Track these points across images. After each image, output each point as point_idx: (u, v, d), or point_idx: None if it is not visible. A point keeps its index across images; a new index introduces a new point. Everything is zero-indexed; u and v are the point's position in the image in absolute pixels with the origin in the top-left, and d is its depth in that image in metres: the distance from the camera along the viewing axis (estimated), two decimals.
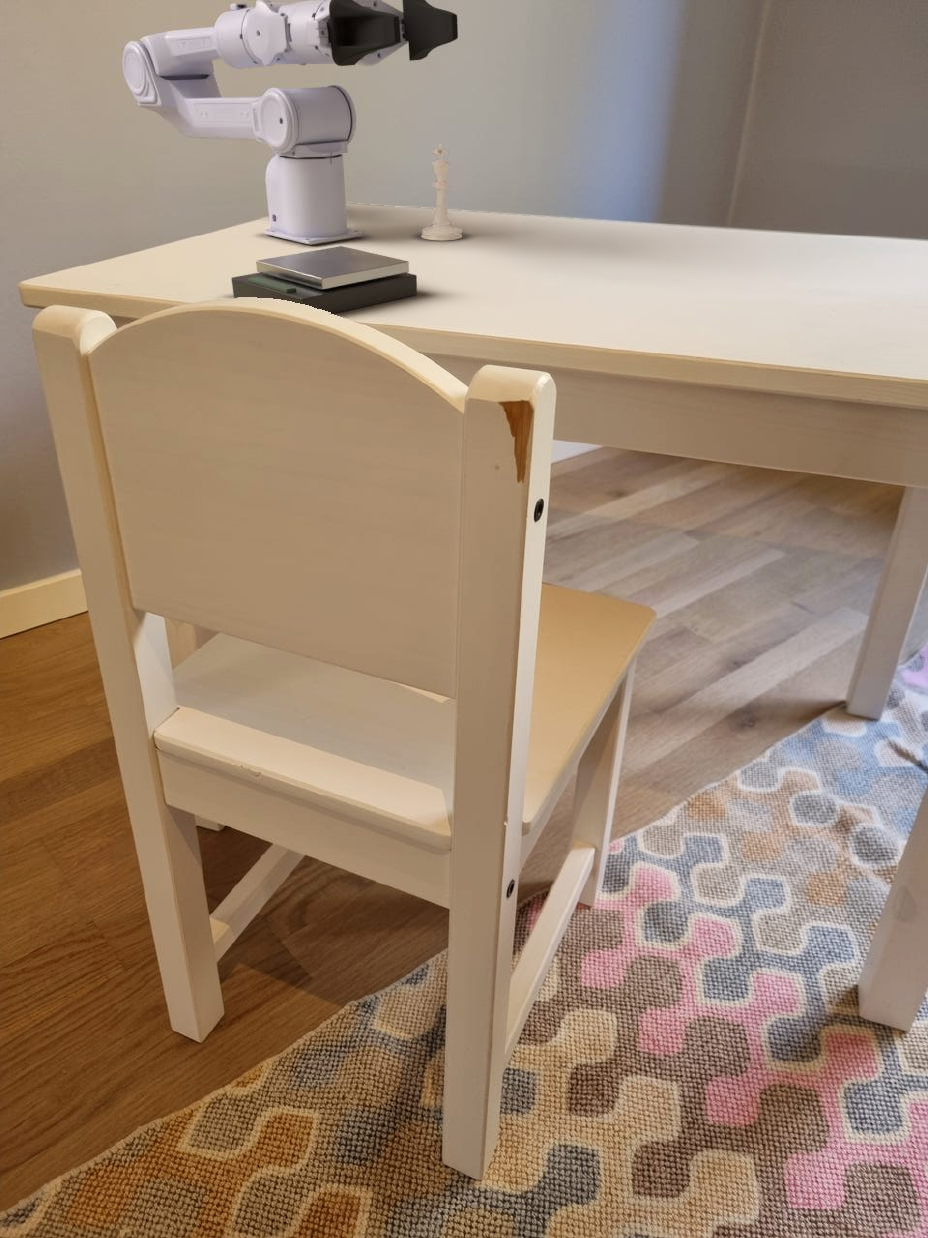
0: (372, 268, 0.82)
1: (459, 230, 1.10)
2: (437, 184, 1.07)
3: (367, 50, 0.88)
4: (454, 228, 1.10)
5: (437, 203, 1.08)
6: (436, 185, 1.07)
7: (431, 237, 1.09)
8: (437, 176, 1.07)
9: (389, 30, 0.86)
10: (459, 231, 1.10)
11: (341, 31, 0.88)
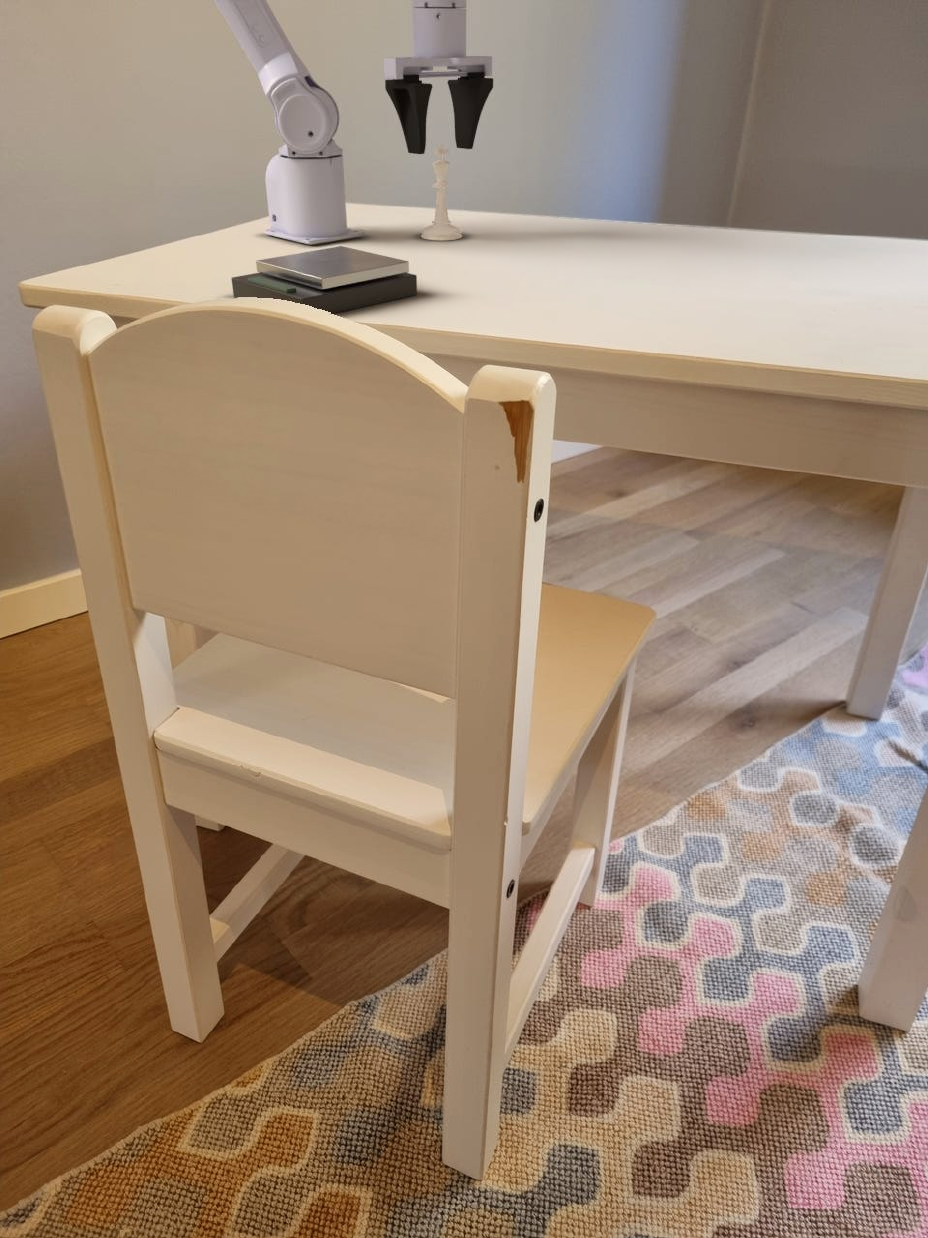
0: (372, 268, 0.82)
1: (459, 230, 1.10)
2: (437, 184, 1.07)
3: (399, 118, 1.02)
4: (454, 228, 1.10)
5: (437, 203, 1.08)
6: (436, 185, 1.07)
7: (431, 237, 1.09)
8: (437, 176, 1.07)
9: (412, 146, 1.03)
10: (459, 231, 1.10)
11: None
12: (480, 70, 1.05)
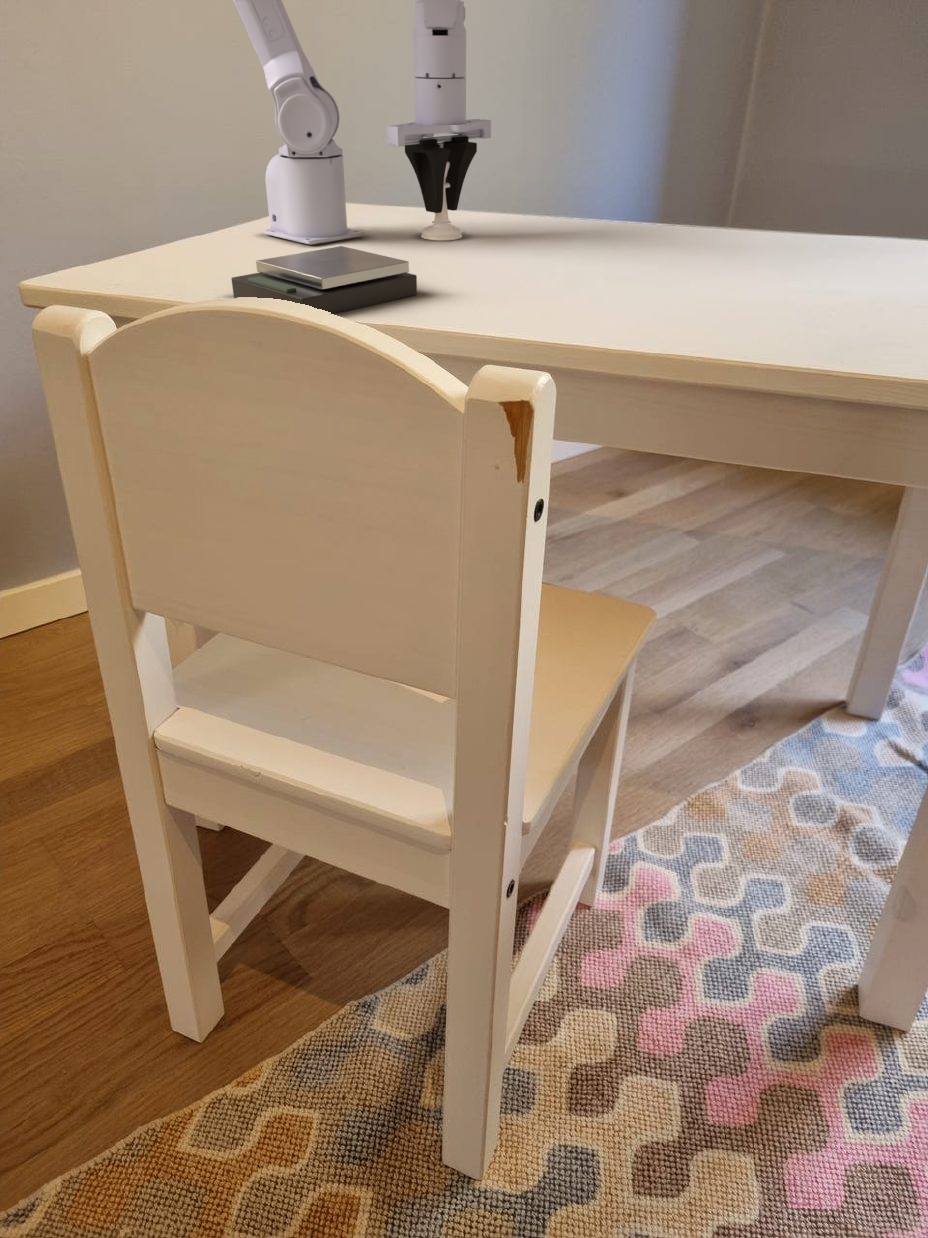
0: (372, 268, 0.82)
1: (459, 230, 1.10)
2: None
3: None
4: (454, 228, 1.10)
5: None
6: None
7: (431, 237, 1.09)
8: None
9: (430, 206, 1.08)
10: (459, 231, 1.10)
11: None
12: (479, 133, 1.08)
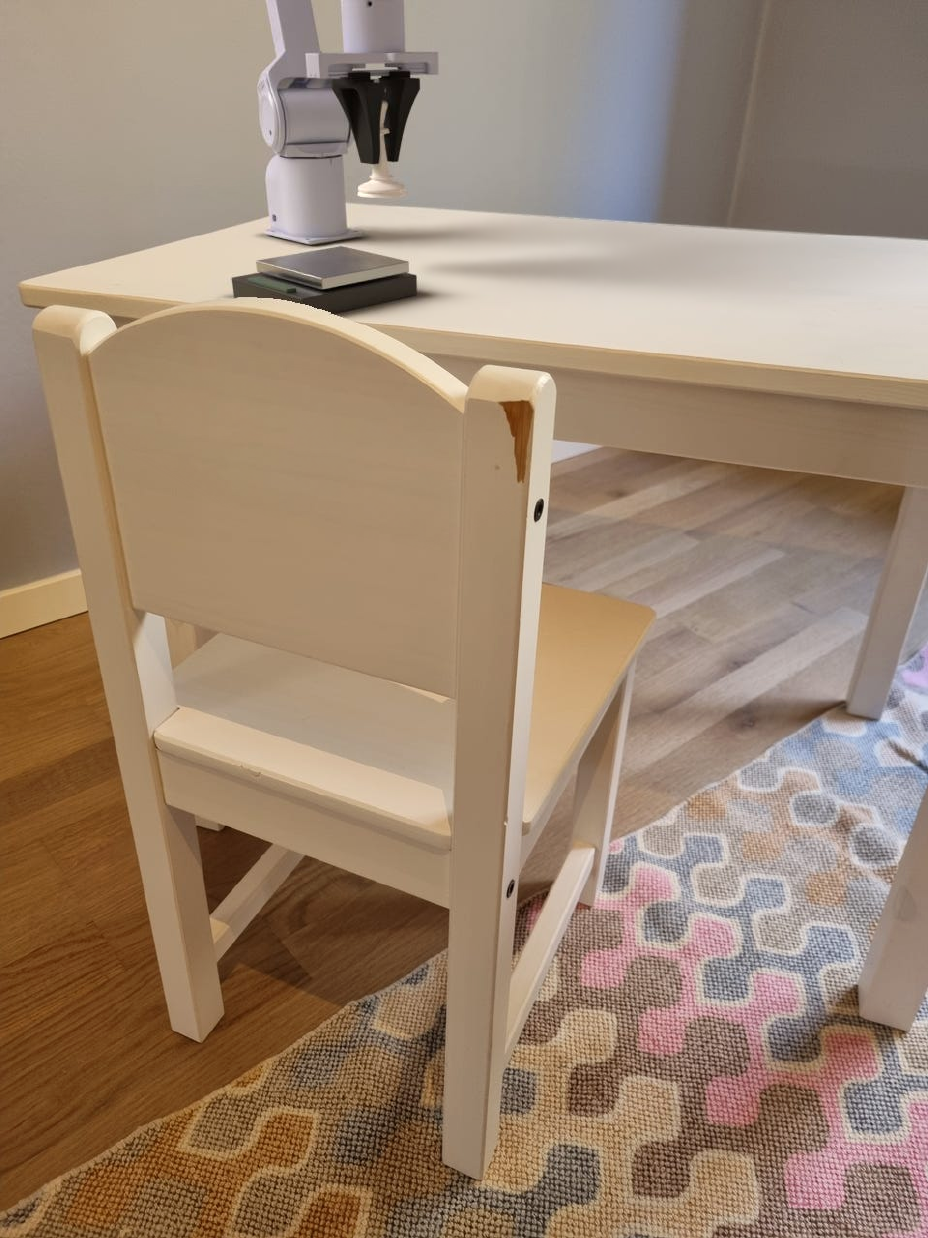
0: (372, 268, 0.82)
1: (402, 186, 0.91)
2: None
3: (349, 123, 0.88)
4: (396, 183, 0.91)
5: None
6: None
7: (368, 195, 0.90)
8: None
9: (365, 155, 0.89)
10: (402, 187, 0.91)
11: None
12: (424, 68, 0.90)
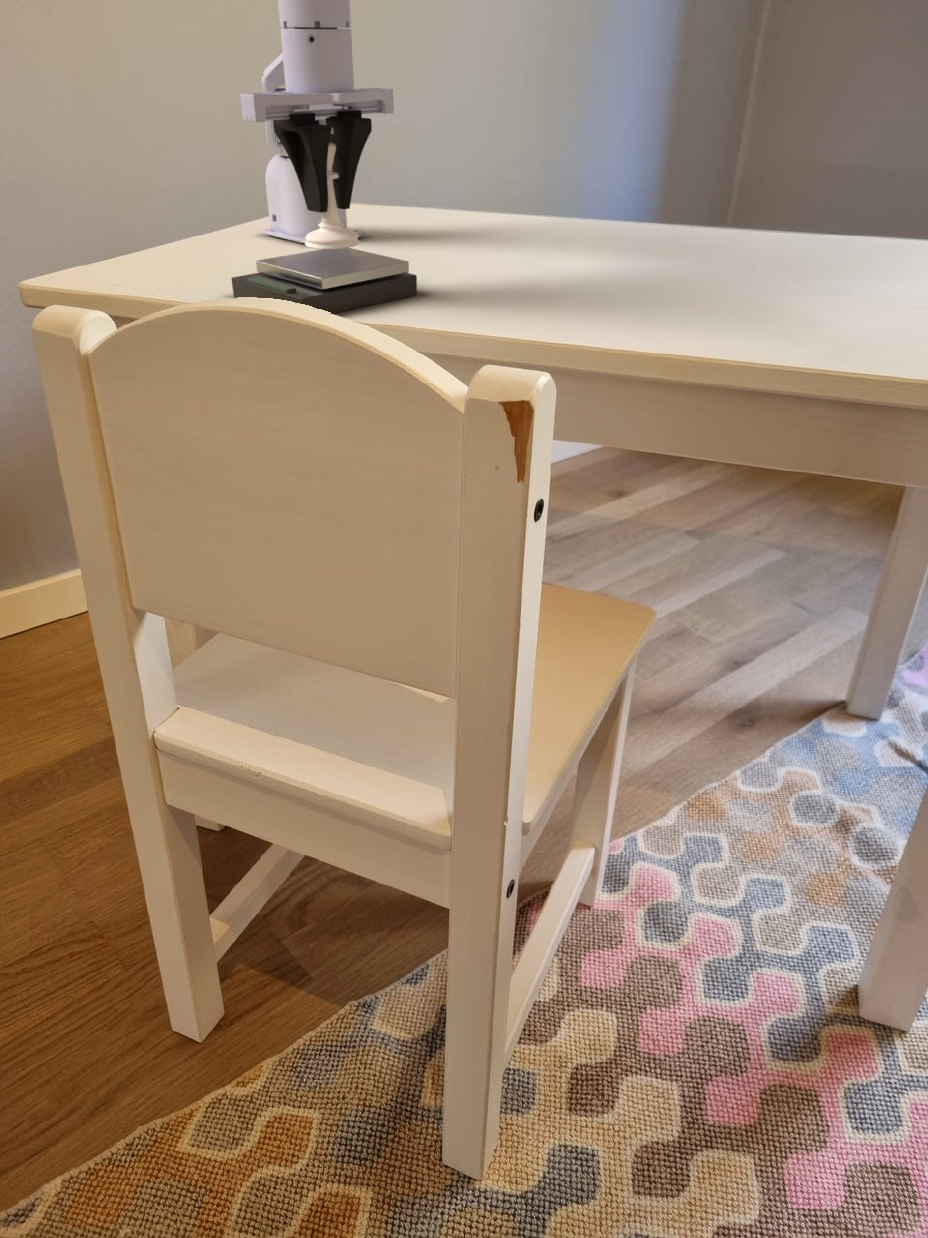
0: (372, 268, 0.82)
1: (354, 235, 0.83)
2: None
3: (294, 168, 0.80)
4: (347, 233, 0.83)
5: None
6: None
7: (316, 245, 0.82)
8: None
9: (312, 203, 0.81)
10: (354, 236, 0.83)
11: None
12: (378, 106, 0.82)
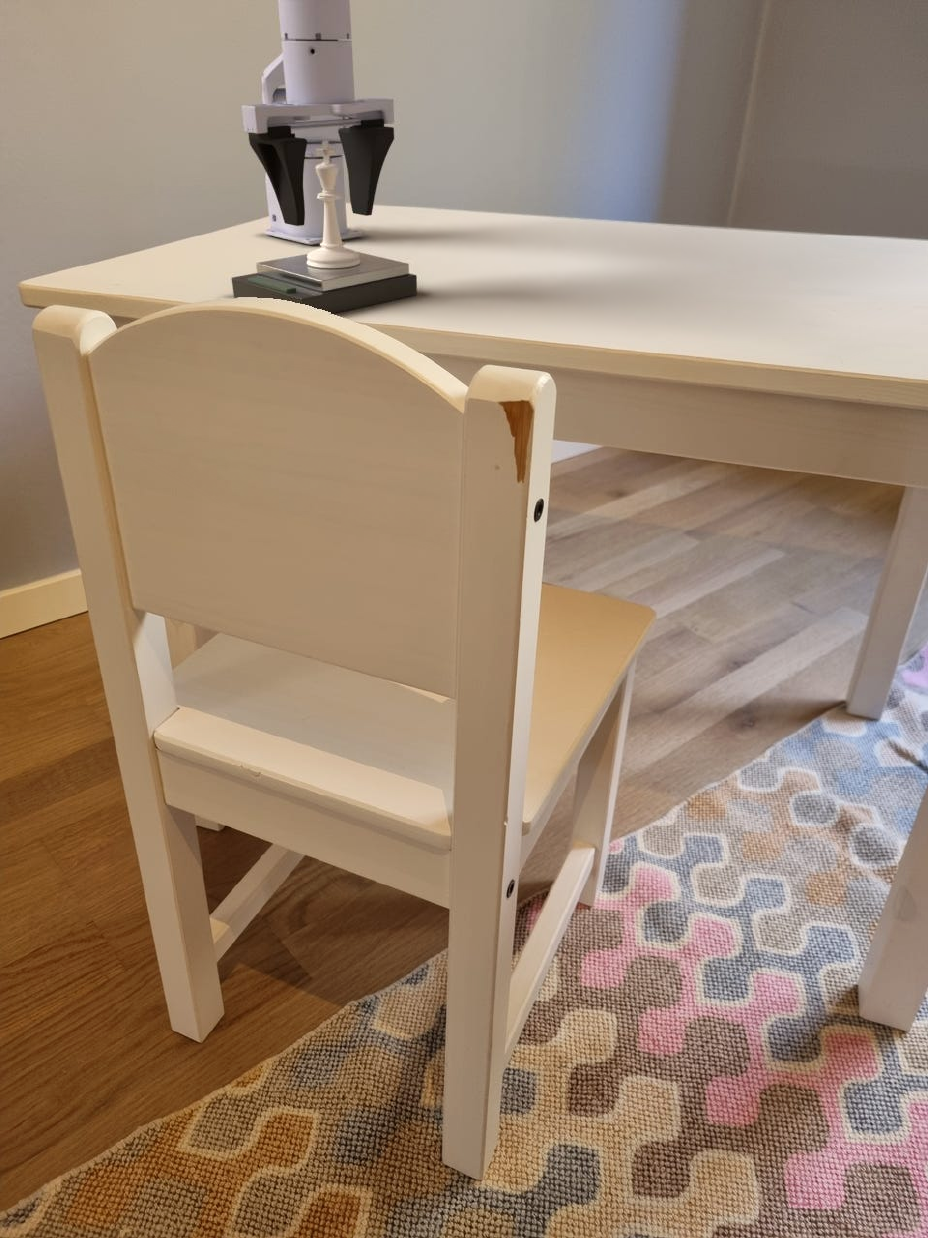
0: (372, 270, 0.82)
1: (355, 255, 0.84)
2: (323, 195, 0.81)
3: (270, 181, 0.79)
4: (348, 252, 0.84)
5: (325, 220, 0.83)
6: (321, 196, 0.81)
7: (317, 264, 0.83)
8: (322, 184, 0.81)
9: (289, 216, 0.80)
10: (355, 256, 0.84)
11: None
12: (378, 117, 0.82)
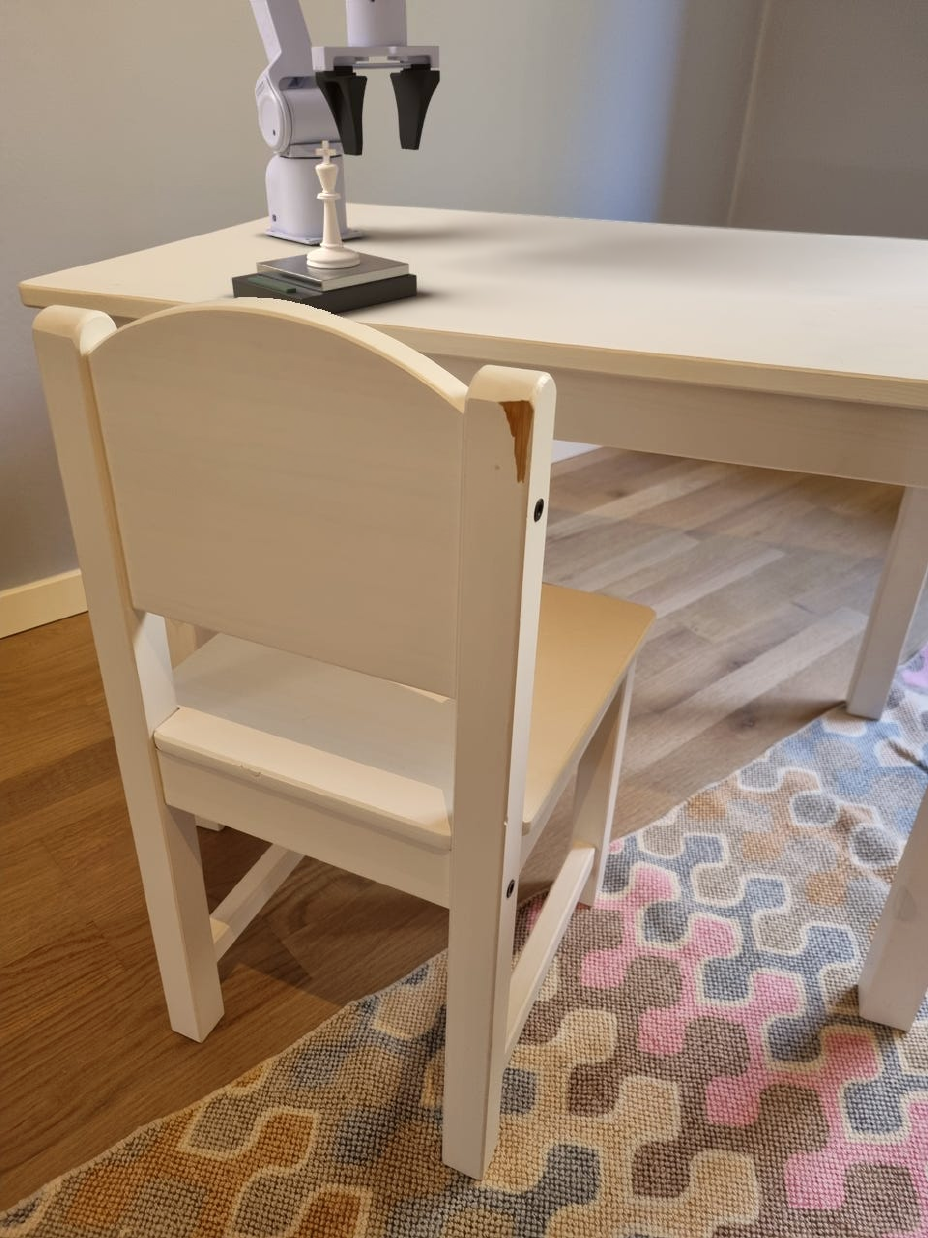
0: (372, 270, 0.82)
1: (355, 255, 0.84)
2: (323, 195, 0.81)
3: (333, 116, 0.91)
4: (348, 252, 0.84)
5: (325, 220, 0.83)
6: (321, 196, 0.81)
7: (317, 264, 0.83)
8: (322, 184, 0.81)
9: (348, 147, 0.91)
10: (355, 256, 0.84)
11: None
12: (426, 61, 0.93)
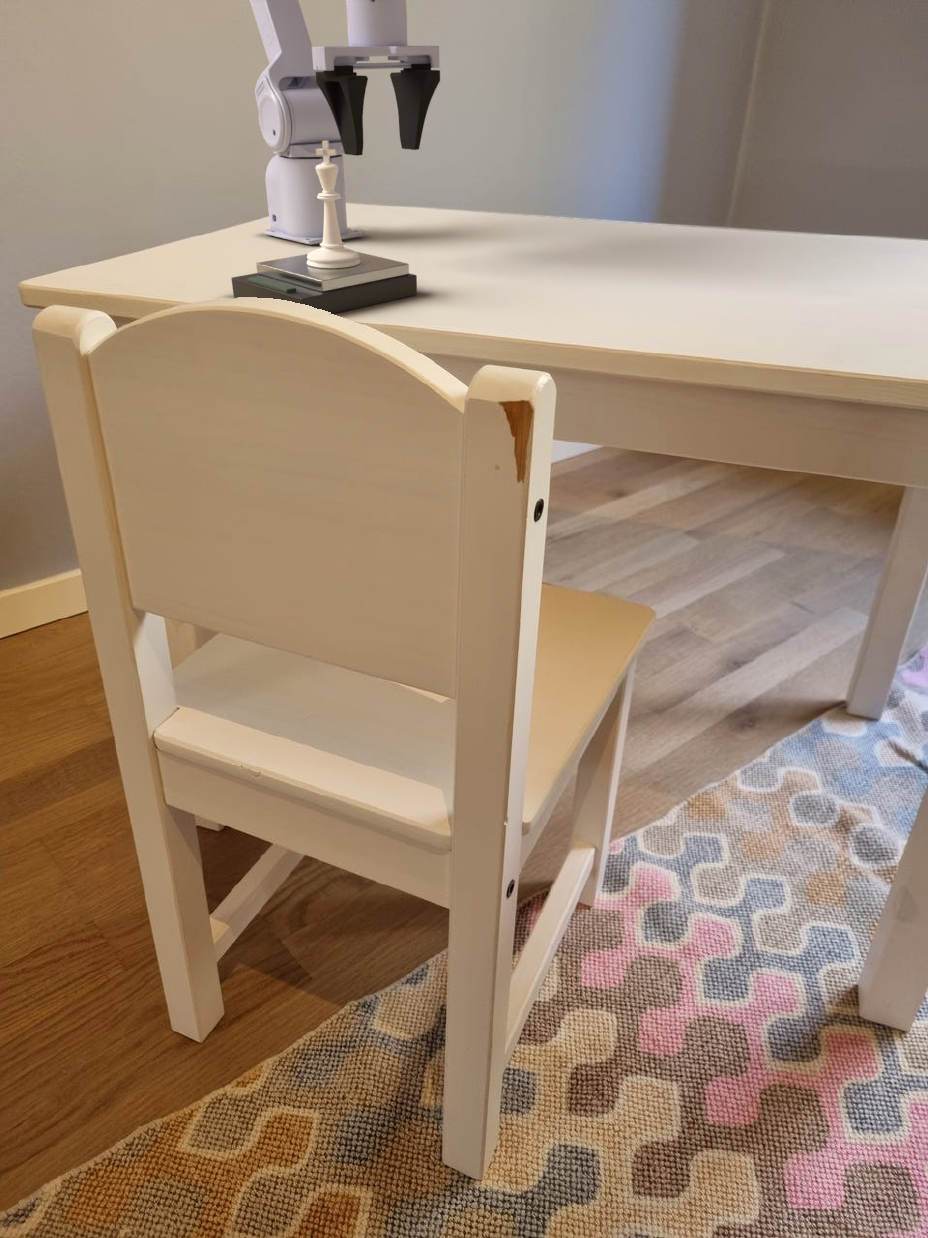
0: (372, 270, 0.82)
1: (355, 255, 0.84)
2: (323, 195, 0.81)
3: (333, 115, 0.91)
4: (348, 252, 0.84)
5: (325, 220, 0.83)
6: (321, 196, 0.81)
7: (317, 264, 0.83)
8: (322, 184, 0.81)
9: (349, 147, 0.91)
10: (355, 256, 0.84)
11: None
12: (426, 61, 0.94)
